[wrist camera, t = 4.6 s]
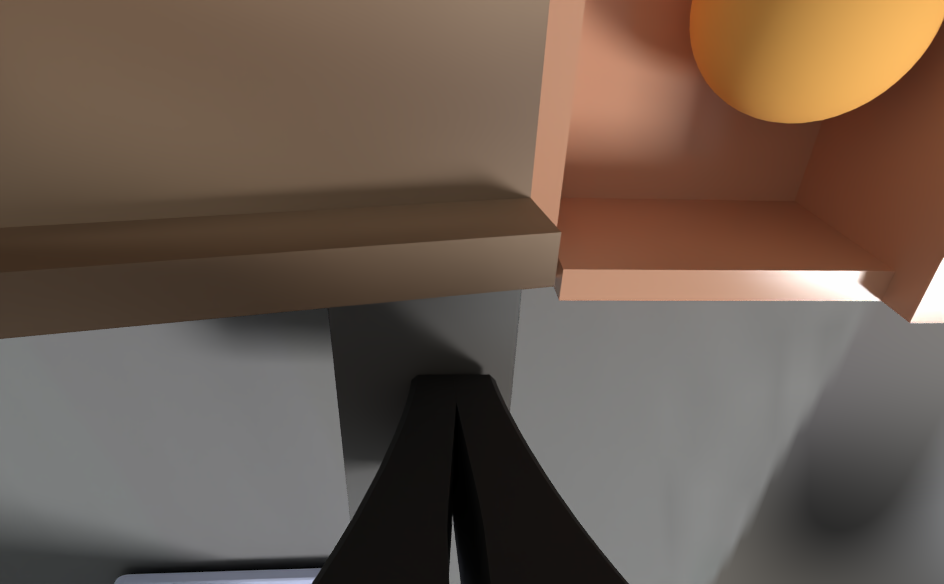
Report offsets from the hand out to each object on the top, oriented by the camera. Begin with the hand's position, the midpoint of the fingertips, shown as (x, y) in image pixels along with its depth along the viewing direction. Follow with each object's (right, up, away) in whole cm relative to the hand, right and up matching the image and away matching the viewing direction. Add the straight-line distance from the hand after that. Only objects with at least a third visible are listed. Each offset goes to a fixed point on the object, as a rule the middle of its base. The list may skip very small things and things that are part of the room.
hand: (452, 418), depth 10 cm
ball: (+6, +7, -1) cm, 9 cm away
